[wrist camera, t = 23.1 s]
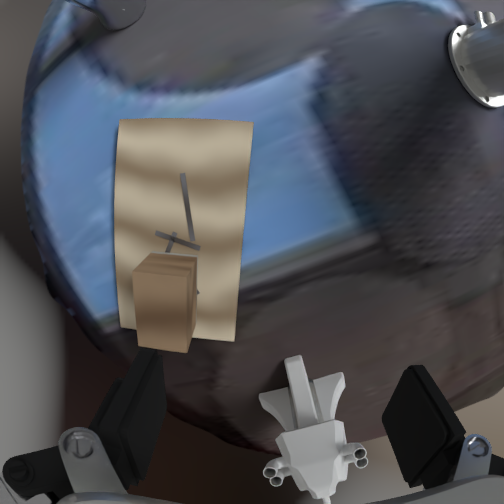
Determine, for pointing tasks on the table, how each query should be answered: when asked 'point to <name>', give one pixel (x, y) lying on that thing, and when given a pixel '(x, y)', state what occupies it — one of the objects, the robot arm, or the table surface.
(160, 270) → the block
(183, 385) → the table surface
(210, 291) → the board
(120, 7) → the beer glass
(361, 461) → the toy gun turret
